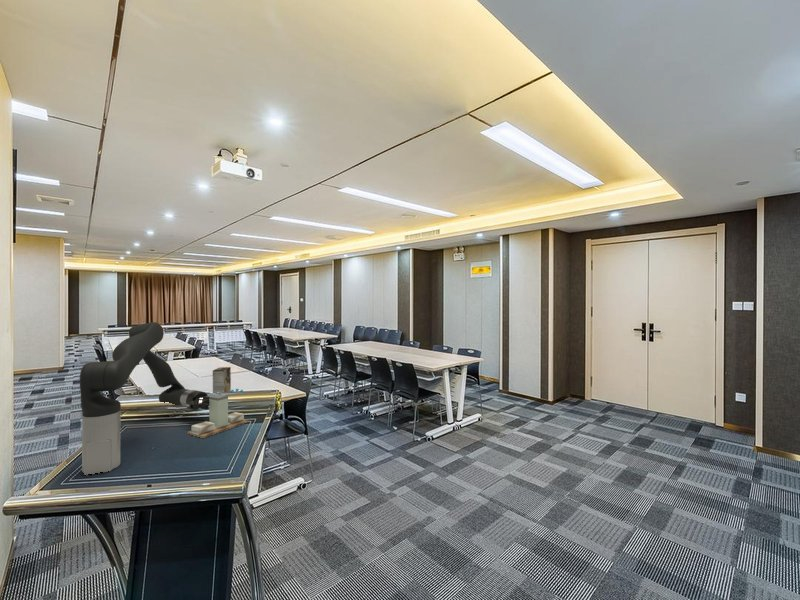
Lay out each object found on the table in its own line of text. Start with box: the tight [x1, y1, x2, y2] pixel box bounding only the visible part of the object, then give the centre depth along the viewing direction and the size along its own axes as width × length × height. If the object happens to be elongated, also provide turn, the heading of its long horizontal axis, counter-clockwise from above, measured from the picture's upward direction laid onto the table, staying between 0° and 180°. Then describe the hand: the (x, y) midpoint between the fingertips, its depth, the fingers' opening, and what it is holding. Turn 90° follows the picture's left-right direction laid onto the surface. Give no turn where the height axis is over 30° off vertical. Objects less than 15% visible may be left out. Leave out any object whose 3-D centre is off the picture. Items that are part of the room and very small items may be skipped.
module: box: [208, 394, 229, 428], centre depth 146 cm, size 4×6×12 cm
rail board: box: [187, 411, 249, 439], centre depth 146 cm, size 20×10×4 cm, turn 152°
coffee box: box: [212, 366, 232, 394], centre depth 194 cm, size 9×6×16 cm
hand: (217, 404), depth 146 cm, fingers open, 8 cm apart
